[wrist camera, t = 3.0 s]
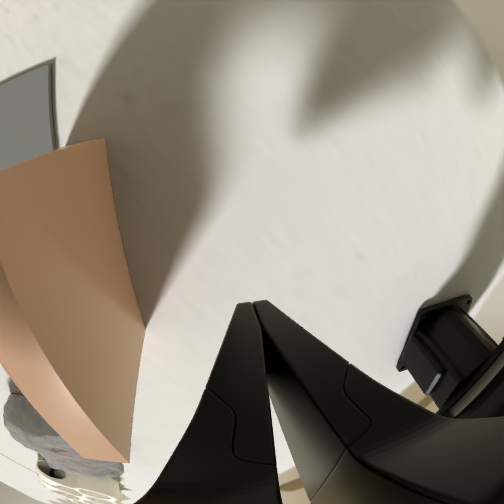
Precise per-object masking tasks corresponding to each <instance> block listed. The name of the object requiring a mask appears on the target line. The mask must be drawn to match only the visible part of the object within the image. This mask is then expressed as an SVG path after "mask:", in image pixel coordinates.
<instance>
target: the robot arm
mask: <svg viewBox="0 0 504 504" xmlns="http://www.w3.org/2000/svg"><path fill="white" fill-rule="evenodd" d="M471 302H472V297H471V296H470V295H465V296H462V297H459V298H456V299H453V300H450V301H447V302H444V303H440V304H437V305H434V306H431V307H427V308H424V309H422V310H421V311H420V312H419V313H418V314H417V317H416V320H415V322H414V325H413V328H412V330H411V333H410V335H409V338H408V340H407V343H406V345H405V348H404V350H403V352H402V355H401V357H400V359H399V362H398V364H397V366H396V368H397V370H398V371H399V372H401V371H404V370H407V369H408V371H409V372H410V373H411V375H412V376H413V378H414V379H415V381H416V382H417V384H418V385H419V386H420V388H421V389H422V391H423V393H424V394H425V395H430V396H431V398H432V399H433V401H434V402H435V404H436V405H437V407H438V408H439V410H438V411H437V412H436V413H433V412H431V411H429V410H427V409H425V408H423V407H421V406H419V405H418V404H416V403H414V402H412V401H410V400H408V399H406V398H404V397H403V396H401V395H399V394H397V393H395V392H394V391H392V390H390V389H388V388H387V387H385V386H383V385H382V384H380V383H378V382H377V381H375V380H374V379H372V378H371V377H369V376H368V375H366V374H365V373H363V372H362V371H361V370H359V369H358V368H356V367H355V366H354V365H352V364H349V362H348V361H347V360H345V359H344V358H343V357H341V356H340V355H339V354H337V353H336V352H335V351H333V350H332V349H331V348H329V347H328V346H327V345H325V344H324V343H323V342H321V341H320V340H319V339H317V338H316V337H315V336H313V335H312V334H311V333H309V332H308V331H307V330H305V329H304V328H303V327H301V326H300V325H299V324H297V323H296V322H295V321H294V320H292V319H291V318H290V317H288V316H287V315H286V314H284V313H283V312H282V311H281V310H279V309H278V308H277V307H275V306H274V305H273V304H271V303H270V302H269V301H267V300H261V301H254V302H253V303H251V302H245V303H238V304H237V305H236V308H235V311H234V313H233V316H232V319H231V321H230V324H229V326H228V329H227V332H226V334H225V337H224V340H223V342H222V345H221V348H220V350H219V353H218V356H217V358H216V361H215V364H214V366H213V369H212V371H211V374H210V377H209V379H208V382H207V385H206V389H205V390H204V392H203V395H202V397H201V400H200V402H199V405H198V407H197V409H196V412H195V414H194V416H193V418H192V420H191V422H190V424H189V426H188V428H187V430H186V432H185V433H184V435H183V437H182V439H181V440H180V442H179V444H178V446H177V447H176V449H175V451H174V452H173V454H172V456H171V457H170V459H169V461H168V462H167V464H166V466H165V467H164V469H163V471H162V472H161V474H160V476H159V477H158V479H157V480H156V482H155V483H154V484H153V486H152V487H151V488H150V489H149V491H148V492H147V493H146V494H145V495H144V496H143V497H142V498H140V499H139V500H138V501H137V502H135V503H134V504H283V503H282V499H281V494H280V488H279V481H278V473H277V467H276V465H277V464H276V455H275V445H274V436H273V427H272V418H271V408H270V399H269V395H270V398H271V401H272V404H273V406H274V409H275V412H276V415H277V417H278V420H279V423H280V426H281V428H282V431H283V434H284V436H285V439H286V442H287V444H288V447H289V449H290V452H291V455H292V457H293V460H294V462H295V465H296V468H297V470H298V472H299V475H300V478H301V480H302V483H303V485H304V488H305V490H306V493H307V495H308V498H309V500H310V501H311V504H504V337H503V340H502V342H501V343H500V344H499V345H498V344H497V343H496V342H495V341H494V340H493V339H492V338H491V337H490V336H489V335H488V334H487V333H486V332H485V331H484V330H483V329H482V328H481V327H480V326H479V325H478V324H477V323H476V322H475V321H474V320H473V319H472V318H471V317H470V316H469V315H468V314H467V312H468V309H469V307H470V305H471Z"/></svg>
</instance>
